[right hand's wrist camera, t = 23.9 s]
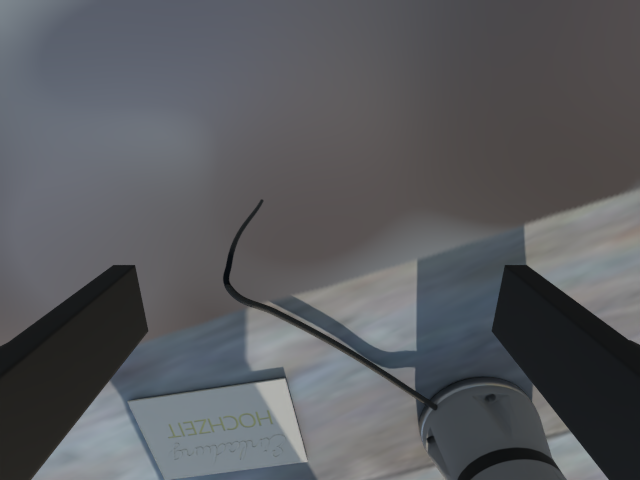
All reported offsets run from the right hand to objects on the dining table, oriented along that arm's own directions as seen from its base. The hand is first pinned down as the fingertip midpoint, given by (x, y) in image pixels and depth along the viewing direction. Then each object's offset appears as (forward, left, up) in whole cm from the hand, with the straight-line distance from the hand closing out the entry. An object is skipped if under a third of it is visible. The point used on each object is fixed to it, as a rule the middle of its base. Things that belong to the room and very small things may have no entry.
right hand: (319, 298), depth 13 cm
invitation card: (+14, -35, -25) cm, 45 cm away
